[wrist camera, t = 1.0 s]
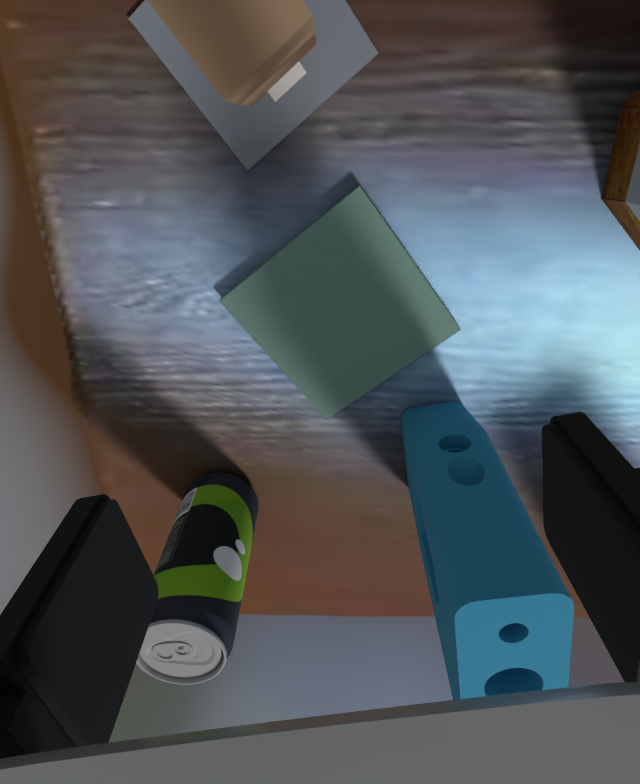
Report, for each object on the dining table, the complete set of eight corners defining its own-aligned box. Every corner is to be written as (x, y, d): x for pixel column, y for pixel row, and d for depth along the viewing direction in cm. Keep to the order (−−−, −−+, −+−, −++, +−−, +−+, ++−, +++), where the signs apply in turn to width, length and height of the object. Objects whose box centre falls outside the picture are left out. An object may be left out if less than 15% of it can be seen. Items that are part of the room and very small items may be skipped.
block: (397, 388, 40) (453, 603, 22) (463, 379, 39) (575, 590, 22) (411, 510, 45) (465, 762, 27) (469, 503, 45) (562, 754, 27)
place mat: (359, 184, 33) (359, 186, 32) (458, 325, 37) (460, 329, 37) (221, 297, 37) (219, 301, 36) (326, 414, 41) (326, 419, 40)
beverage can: (199, 529, 46) (147, 692, 33) (177, 473, 44) (111, 626, 30) (267, 519, 46) (241, 682, 32) (249, 462, 43) (213, 613, 30)
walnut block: (258, -44, 28) (230, -112, 20) (316, 44, 29) (312, 14, 21) (191, 27, 29) (140, -10, 21) (250, 106, 31) (223, 100, 23)
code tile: (263, -131, 26) (263, -133, 26) (378, 53, 30) (378, 53, 30) (129, 18, 29) (127, 17, 29) (248, 170, 33) (247, 170, 33)
